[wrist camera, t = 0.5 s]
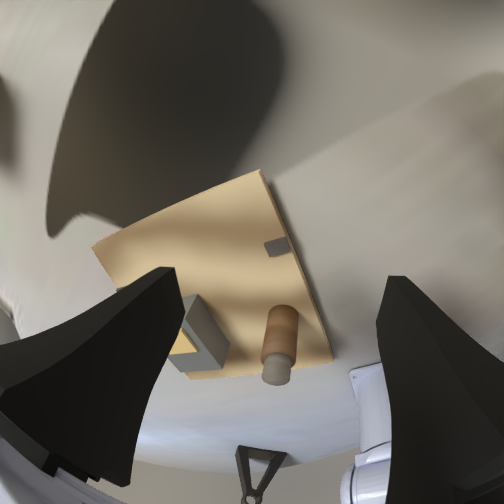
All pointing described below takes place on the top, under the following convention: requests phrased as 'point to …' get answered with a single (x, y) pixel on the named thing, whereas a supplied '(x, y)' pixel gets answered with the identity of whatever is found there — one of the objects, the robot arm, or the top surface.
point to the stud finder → (198, 340)
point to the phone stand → (244, 470)
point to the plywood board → (225, 268)
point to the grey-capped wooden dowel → (279, 344)
